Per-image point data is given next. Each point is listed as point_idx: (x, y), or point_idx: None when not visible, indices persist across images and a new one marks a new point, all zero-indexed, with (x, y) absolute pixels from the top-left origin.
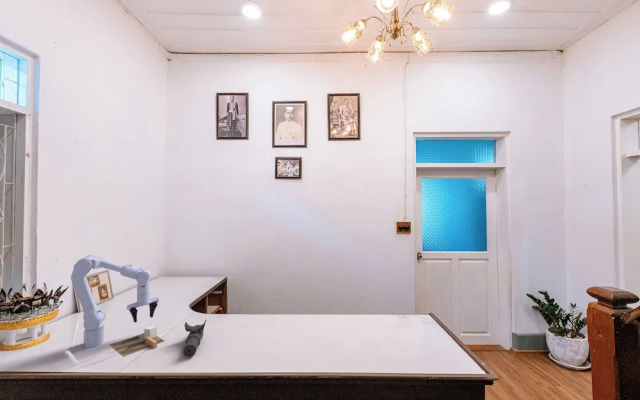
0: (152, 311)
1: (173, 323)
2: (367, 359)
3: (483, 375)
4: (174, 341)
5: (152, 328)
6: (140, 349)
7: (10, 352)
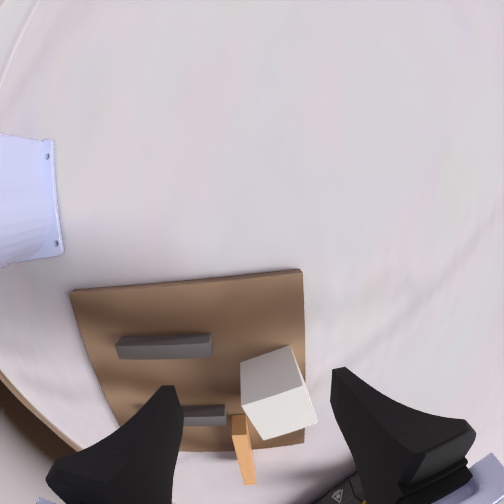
0: (353, 457)
1: (447, 228)
2: None
3: None
4: (334, 441)
5: (283, 433)
6: (194, 447)
7: None
